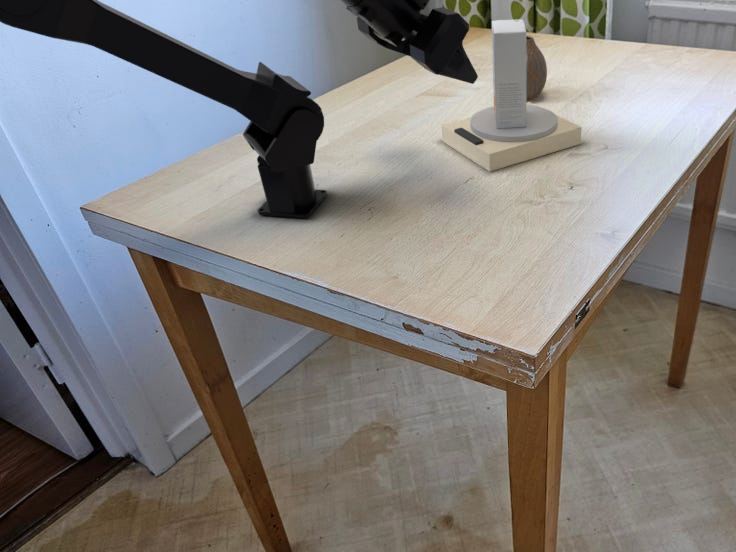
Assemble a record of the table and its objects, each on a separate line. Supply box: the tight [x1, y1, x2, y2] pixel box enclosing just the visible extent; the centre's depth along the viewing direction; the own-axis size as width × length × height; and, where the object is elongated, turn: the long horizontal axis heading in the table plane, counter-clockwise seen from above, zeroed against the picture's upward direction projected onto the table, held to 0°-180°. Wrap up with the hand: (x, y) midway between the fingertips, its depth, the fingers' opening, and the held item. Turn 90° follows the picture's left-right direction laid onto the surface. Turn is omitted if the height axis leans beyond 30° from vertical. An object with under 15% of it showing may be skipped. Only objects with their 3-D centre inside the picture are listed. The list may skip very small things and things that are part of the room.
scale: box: [441, 101, 583, 173], centre depth 92 cm, size 15×12×3 cm
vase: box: [526, 35, 548, 101], centre depth 105 cm, size 7×7×9 cm
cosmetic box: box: [491, 19, 527, 128], centre depth 87 cm, size 6×4×12 cm
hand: (455, 70), depth 83 cm, fingers open, 9 cm apart
